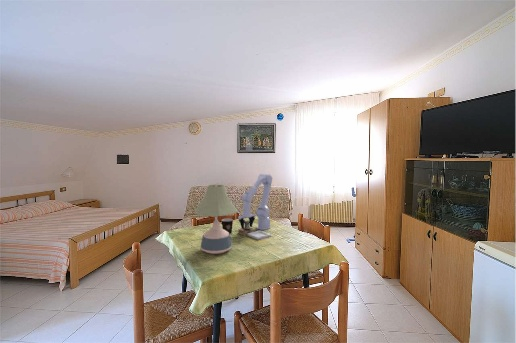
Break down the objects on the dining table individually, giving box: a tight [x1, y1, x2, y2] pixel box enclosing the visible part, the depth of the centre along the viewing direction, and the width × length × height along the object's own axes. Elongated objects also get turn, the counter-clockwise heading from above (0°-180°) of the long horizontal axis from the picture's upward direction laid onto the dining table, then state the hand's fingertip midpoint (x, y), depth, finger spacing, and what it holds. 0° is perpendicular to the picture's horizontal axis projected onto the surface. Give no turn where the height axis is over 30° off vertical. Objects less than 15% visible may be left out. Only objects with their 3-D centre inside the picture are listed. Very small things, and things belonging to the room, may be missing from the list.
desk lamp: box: [194, 182, 239, 255], centre depth 152 cm, size 26×28×42 cm
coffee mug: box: [219, 218, 234, 234], centre depth 188 cm, size 12×9×10 cm
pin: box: [244, 220, 250, 231], centre depth 187 cm, size 4×4×9 cm
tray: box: [247, 230, 272, 241], centre depth 180 cm, size 12×12×2 cm
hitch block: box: [237, 226, 256, 237], centre depth 187 cm, size 10×8×3 cm
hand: (246, 227), depth 187 cm, fingers open, 7 cm apart
